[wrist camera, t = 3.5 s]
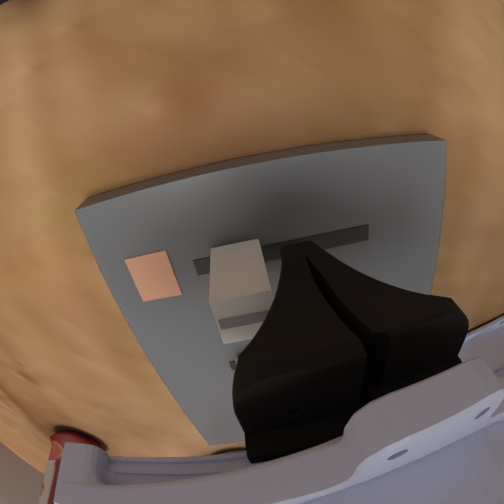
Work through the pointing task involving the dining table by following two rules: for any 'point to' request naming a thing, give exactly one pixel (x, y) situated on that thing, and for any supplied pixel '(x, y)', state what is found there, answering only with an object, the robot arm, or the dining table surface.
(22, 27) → the dining table surface
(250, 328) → the switch
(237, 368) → the robot arm
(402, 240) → the switch panel
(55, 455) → the liquor
